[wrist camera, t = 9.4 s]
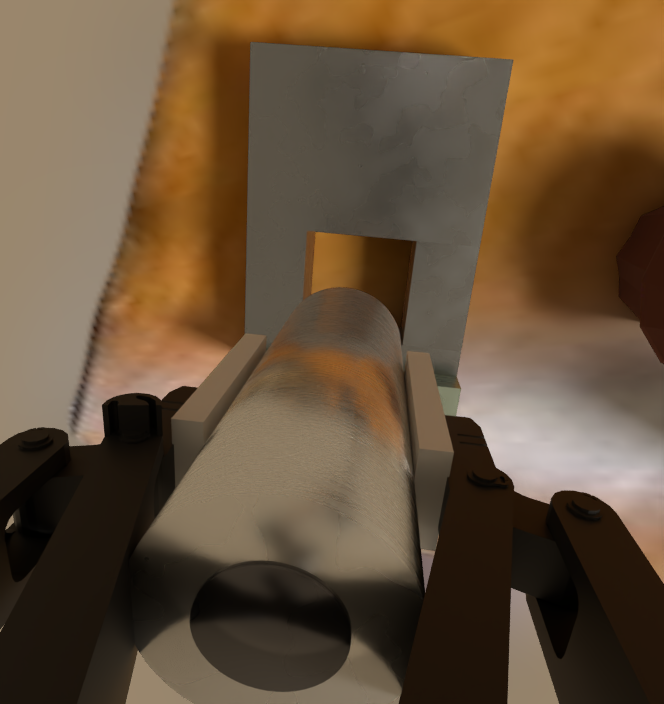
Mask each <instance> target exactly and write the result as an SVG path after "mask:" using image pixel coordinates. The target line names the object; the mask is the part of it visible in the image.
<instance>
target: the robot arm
mask: <svg viewBox="0 0 664 704" xmlns="http://www.w3.org/2000/svg"><path fill="white" fill-rule="evenodd" d="M266 338H267V336H266V335H257V334H248V333H245V334H244V336H243V337H242V338H241V339H240V340H239V341H238V343H237V344H236V345H235V346H234V347H233V348H232V349H231V351H230V352H229V353H228V354H227V355H226V356H225V357H224V359H223V360H222V361H221V362H220V363H219V364H218V365H217V367H216V368H215V369H214V370H213V371H212V372H211V373H210V375H209V376H208V377H207V378H206V379H205V380H204V381H203V383H202V384H201V385H200V386H199V387H198V388H196V387H187V386H182V387H180V388H178V389H175V390H173V391H171V392H169V393H168V394H167V395H166V396H165V397H164V398H163V399H162V401H161V400H160V399H159V398H158V397H156V396H153V395H150V394H143V393H131V394H124V395H119V396H116V397H113V398H111V399H109V400H107V401H106V402H105V403H104V404H103V405H102V410H103V422H104V433H105V437H104V439H103V441H102V443H101V444H98V445H87V446H69V441H68V434H67V433H65V432H64V431H63V430H59V429H55V428H44V427H42V428H37V429H36V428H34V429H30V430H27V431H25V432H22V433H18V434H16V435H14V436H13V437H11V438H9V439H8V440H6V441H5V442H3V443H2V444H0V629H1V628H2V627H3V625H4V627H3V628H2V630H1V632H0V704H125V703H126V699H127V694H128V690H129V686H130V681H131V677H132V673H133V668H134V664H135V660H136V655H137V651H138V649H137V648H136V646H135V638H134V625H133V612H132V599H131V586H130V573H129V559H130V557H131V555H132V554H133V552H134V550H135V548H136V547H137V545H138V543H139V542H140V540H141V539H142V537H143V536H144V534H145V533H146V531H147V530H148V528H149V527H150V525H151V524H152V522H153V521H154V519H155V518H156V516H157V515H158V513H159V512H160V510H161V509H162V507H163V506H164V504H165V503H166V501H167V500H168V498H169V497H170V495H171V494H172V492H173V491H174V489H175V488H176V486H177V485H178V483H179V482H180V480H181V479H182V477H183V476H184V474H185V473H186V471H187V470H188V468H189V467H190V465H191V464H192V462H193V461H194V459H195V458H196V456H197V455H198V453H199V452H200V450H201V449H202V447H203V446H204V444H205V443H206V441H207V440H208V438H209V437H210V435H211V434H212V432H213V431H214V429H215V428H216V426H217V425H218V423H219V422H220V420H221V419H222V417H223V416H224V414H225V413H226V411H227V410H228V408H229V407H230V405H231V404H232V402H233V401H234V399H235V398H236V396H237V395H238V393H239V392H240V390H241V389H242V387H243V386H244V384H245V383H246V381H247V380H248V378H249V377H250V375H251V374H252V372H253V371H254V369H255V368H256V366H257V365H258V363H259V362H260V360H261V359H262V357H263V356H264V354H265V353H266ZM404 381H405V391H406V401H407V412H408V422H409V432H410V443H411V453H412V463H413V474H414V484H415V494H416V505H417V515H418V525H419V536H420V546H421V549H426V550H434V551H435V550H436V551H435V555H434V559H433V563H432V567H431V572H430V576H429V580H428V584H427V588H426V592H425V596H424V601H423V605H422V609H421V613H420V617H419V621H418V625H417V630H416V634H415V638H414V642H413V646H412V650H411V655H410V659H409V663H408V667H407V671H406V675H405V679H404V684H403V688H402V692H401V696H400V700H399V704H507V695H508V665H509V632H510V599H511V588H513V589H516V590H518V591H521V592H523V593H526V601H527V604H528V607H529V610H530V613H531V616H532V620H533V622H534V626H535V629H536V632H537V635H538V638H539V642H540V645H541V648H542V651H543V654H544V657H545V660H546V663H547V667H548V669H549V673H550V676H551V679H552V682H553V685H554V689H555V692H556V695H557V698H558V701H559V704H664V584H663V582H662V581H661V579H660V578H659V576H658V575H657V573H656V572H655V570H654V569H653V567H652V566H651V564H650V563H649V561H648V560H647V558H646V557H645V555H644V554H643V552H642V551H641V549H640V548H639V546H638V545H637V543H636V542H635V540H634V539H633V537H632V536H631V534H630V533H629V531H628V530H627V528H626V527H625V525H624V524H623V522H622V521H621V519H620V518H619V516H618V515H617V513H616V512H615V511H614V510H613V509H612V508H611V507H610V506H609V505H608V504H606V503H604V502H603V501H601V500H600V499H598V498H597V497H595V496H591V495H590V494H587V493H583V492H577V491H560V492H557V493H555V494H554V495H553V497H552V498H551V501H550V504H547V503H544V502H540V501H537V500H534V499H531V498H528V497H526V496H523V495H521V494H519V493H517V492H515V491H514V485H513V482H512V480H511V479H510V478H509V477H508V475H507V474H505V473H504V472H502V471H500V470H499V469H497V468H496V467H495V464H494V462H493V459H492V457H491V454H490V451H489V449H488V447H487V443H486V441H485V439H484V435H483V433H482V430H481V427H480V426H478V425H477V424H476V423H475V422H474V421H473V420H472V419H471V418H466V417H458V416H449V415H444V411H443V407H442V403H441V399H440V395H439V391H438V387H437V383H436V379H435V375H434V370H433V366H432V362H431V358H430V354H429V353H424V352H415V351H407V356H406V363H405V370H404ZM12 515H13V518H14V523H13V524H12V525H11V526H10V527H9V528H8V529H6V526H7V523H8V521H9V519H10V517H11V516H12ZM5 529H6V530H5ZM438 534H439V538H438ZM437 540H438V542H437ZM436 545H437V547H436Z"/></svg>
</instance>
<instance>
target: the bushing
mask: <svg viewBox="0 0 664 704" xmlns="http://www.w3.org/2000/svg"><path fill="white" fill-rule="evenodd" d="M129 573H130V586H131V599H132V612H133V625H134V638H135V646H136V648H137V649H138V651H139V652H140V654H141V655H142V657H143V658H144V659H145V661H146V662H147V664H148V665H149V666H150V667H151V668H152V669H153V671H154V672H155V673H156V674H157V675H158V676H159V677H160V678H161V679H162V680H163V681H164V682H165V683H166V684H167V685H168V686H170V687H171V688H172V689H174V690H175V691H176V692H177V693H179V694H180V695H181V696H183V697H184V698H186V699H187V700H189V701H191V702H192V703H194V704H391V703H392V702H393V701H395V700H396V699H397V698H398V697H399V696H400V695H401V692H402V688H403V684H404V679H405V675H406V671H407V667H408V663H409V659H410V655H411V650H412V646H413V642H414V638H415V634H416V630H417V625H418V621H419V617H420V613H421V609H422V605H423V601H424V596H425V588H424V577H423V567H422V556H421V546H420V536H419V525H418V515H417V505H416V494H415V484H414V474H413V463H412V453H411V443H410V432H409V422H408V412H407V401H406V391H405V381H404V370H403V360H402V350H401V339H400V333H399V329H398V326H397V324H396V321H395V320H394V318H393V316H392V314H391V313H390V312H389V310H388V309H387V308H386V307H385V306H384V305H383V304H382V303H381V302H380V301H379V300H377V299H376V298H374V297H373V296H371V295H369V294H367V293H365V292H363V291H360V290H356V289H352V288H341V287H338V288H329V289H325V290H322V291H319V292H316V293H314V294H312V295H310V296H309V297H307V298H306V299H305V300H303V301H302V302H301V303H300V304H299V305H298V306H297V307H296V308H295V309H294V311H293V312H292V314H291V315H290V317H289V318H288V320H287V321H286V323H285V324H284V326H283V327H282V329H281V330H280V332H279V333H278V335H277V336H276V338H275V339H274V341H273V342H272V344H271V345H270V347H269V348H268V350H267V351H266V353H265V354H264V356H263V357H262V359H261V360H260V362H259V363H258V365H257V366H256V368H255V369H254V371H253V372H252V374H251V375H250V377H249V378H248V380H247V381H246V383H245V384H244V386H243V387H242V389H241V390H240V392H239V393H238V395H237V396H236V398H235V399H234V401H233V402H232V404H231V405H230V407H229V408H228V410H227V411H226V413H225V414H224V416H223V417H222V419H221V420H220V422H219V423H218V425H217V426H216V428H215V429H214V431H213V432H212V434H211V435H210V437H209V438H208V440H207V441H206V443H205V444H204V446H203V447H202V449H201V450H200V452H199V453H198V455H197V456H196V458H195V459H194V461H193V462H192V464H191V465H190V467H189V468H188V470H187V471H186V473H185V474H184V476H183V477H182V479H181V480H180V482H179V483H178V485H177V486H176V488H175V489H174V491H173V492H172V494H171V495H170V497H169V498H168V500H167V501H166V503H165V504H164V506H163V507H162V509H161V510H160V512H159V513H158V515H157V516H156V518H155V519H154V521H153V522H152V524H151V525H150V527H149V528H148V530H147V531H146V533H145V534H144V536H143V537H142V539H141V540H140V542H139V543H138V545H137V547H136V548H135V550H134V552H133V554H132V555H131V557H130V559H129Z"/></svg>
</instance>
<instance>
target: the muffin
mask: <svg viewBox="0 0 664 704" xmlns="http://www.w3.org/2000/svg"><path fill="white" fill-rule="evenodd" d="M616 258H617V264H618V270H619V276H620V277H619V297H620V298H621V300H622V301H623V302H624V303H625V304H626V305H627V306H628V307H629V308H630V309H631V310H632V311H633V313H634V314H635V315H636V316H637V317H638V318H639V319H640V328H641V329H642V331H643V333H644V335H645V336H646V338H647V340H648V342H649V343H650V345H651V347H652V349H653V350H654V352H655V354H656V355H657V357H658V359H659V361H660V362H661V363H663V364H664V206H663V207H661V208H658V209H656V210H654V211H651V212H649V213H647V214H644V215H642V216H641V217H640V219H639V221H638V223H637V225H636V227H635V229H634V231H633V233H632V235H631V237H630V238H629V240H628V241H627V242H626V244H625V245H624V246H623V248H622V249H621V250H620V252H619V253H618V254H617V256H616Z"/></svg>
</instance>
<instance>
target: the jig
mask: <svg viewBox="0 0 664 704" xmlns="http://www.w3.org/2000/svg"><path fill="white" fill-rule="evenodd" d="M512 64H513V60H510V59H495V58H480V57H465V56H451V55H436V54H421V53H407V52H392V51H377V50H362V49H348V48H333V47H318V46H303V45H289V44H274V43H259V42H250V93H249V144H248V195H247V245H246V296H245V333H248V334H257V335H266V336H267V338H266V351H267V350H268V348H269V347H270V345H271V344H272V342H273V341H274V339H275V338H276V336H277V335H278V333H279V332H280V330H281V329H282V327H283V326H284V324H285V323H286V321H287V320H288V318H289V317H290V315H291V314H292V312H293V311H294V309H295V308H296V307H297V306H298V305H299V304H300V303H301V302H302V301H303V300H305V299H306V298H307V297H309V296H310V295H311V288H312V273H313V258H314V243H315V232H325V233H336V234H346V235H357V236H368V237H379V238H389V239H400V240H411V241H412V247H411V254H410V262H409V269H408V277H407V284H406V292H405V299H404V307H403V314H402V322H401V327H398V329H399V333H400V339H401V350H402V360H403V370H405V363H406V356H407V351H415V352H424V353H429V354H430V358H431V362H432V366H433V370H434V375H435V379H436V383H437V387H438V391H439V395H440V399H441V403H442V407H443V411H444V415H449V416H456V413H457V407H458V402H459V396H460V391H461V388H460V385H459V382H458V379H457V371H458V365H459V360H460V354H461V348H462V343H463V337H464V332H465V326H466V321H467V315H468V309H469V304H470V298H471V293H472V287H473V282H474V276H475V270H476V265H477V259H478V254H479V248H480V243H481V237H482V232H483V226H484V220H485V215H486V209H487V204H488V198H489V193H490V187H491V181H492V176H493V170H494V165H495V159H496V154H497V148H498V142H499V137H500V131H501V126H502V120H503V115H504V109H505V103H506V98H507V92H508V87H509V81H510V76H511V70H512Z"/></svg>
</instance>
